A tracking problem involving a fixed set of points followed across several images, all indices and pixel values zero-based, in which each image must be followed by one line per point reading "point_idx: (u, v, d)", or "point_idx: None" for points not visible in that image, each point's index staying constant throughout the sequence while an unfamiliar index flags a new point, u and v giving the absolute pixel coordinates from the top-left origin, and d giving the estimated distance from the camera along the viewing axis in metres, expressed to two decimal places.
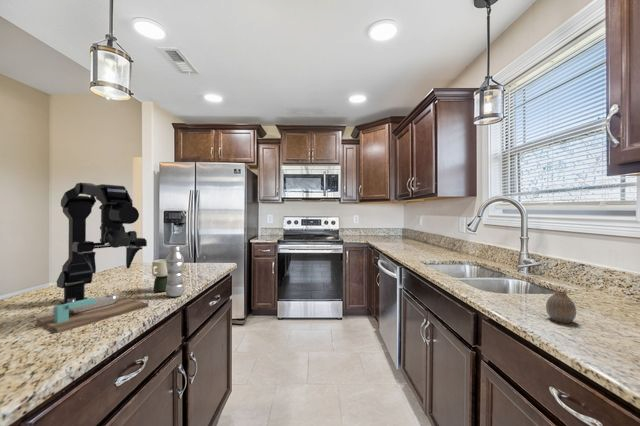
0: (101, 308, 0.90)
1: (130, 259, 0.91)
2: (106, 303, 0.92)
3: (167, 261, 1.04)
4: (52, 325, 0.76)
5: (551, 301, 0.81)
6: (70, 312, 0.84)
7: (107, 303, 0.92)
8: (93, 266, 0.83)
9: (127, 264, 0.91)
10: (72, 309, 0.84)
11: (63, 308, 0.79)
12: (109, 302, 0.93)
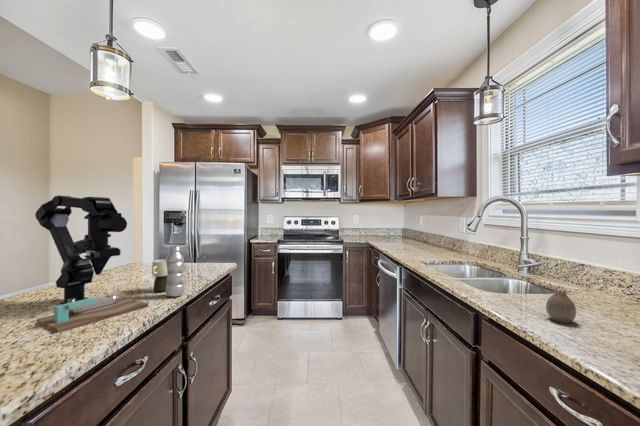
0: (101, 308, 0.90)
1: (95, 266, 0.95)
2: (106, 303, 0.92)
3: (167, 261, 1.04)
4: (52, 325, 0.76)
5: (551, 301, 0.81)
6: (70, 312, 0.84)
7: (107, 303, 0.92)
8: (93, 268, 0.96)
9: None
10: (72, 309, 0.84)
11: (63, 308, 0.79)
12: (109, 302, 0.93)
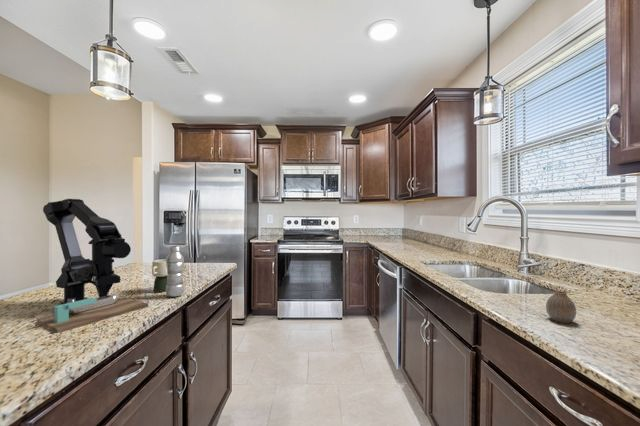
0: (101, 308, 0.90)
1: (98, 292, 0.94)
2: (106, 303, 0.92)
3: (167, 261, 1.04)
4: (52, 325, 0.76)
5: (551, 301, 0.81)
6: (70, 312, 0.84)
7: (107, 303, 0.92)
8: (98, 294, 0.95)
9: None
10: (72, 309, 0.84)
11: (63, 308, 0.79)
12: (109, 302, 0.93)
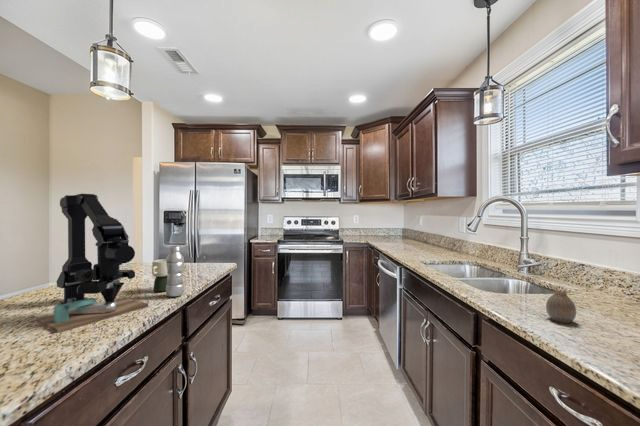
0: None
1: None
2: (98, 311, 0.85)
3: (167, 261, 1.04)
4: (52, 325, 0.76)
5: (551, 301, 0.81)
6: None
7: (99, 311, 0.85)
8: None
9: None
10: None
11: (63, 308, 0.79)
12: (101, 310, 0.85)
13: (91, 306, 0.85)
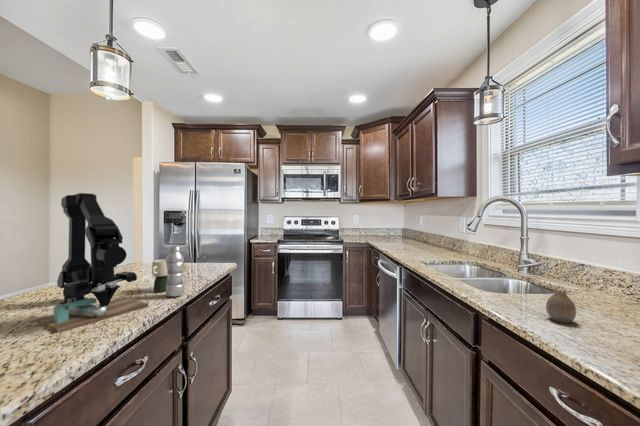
0: None
1: None
2: (87, 314, 0.82)
3: (167, 261, 1.04)
4: (52, 325, 0.76)
5: (551, 301, 0.81)
6: None
7: (88, 315, 0.82)
8: None
9: None
10: None
11: (63, 308, 0.79)
12: (90, 314, 0.82)
13: (82, 309, 0.82)
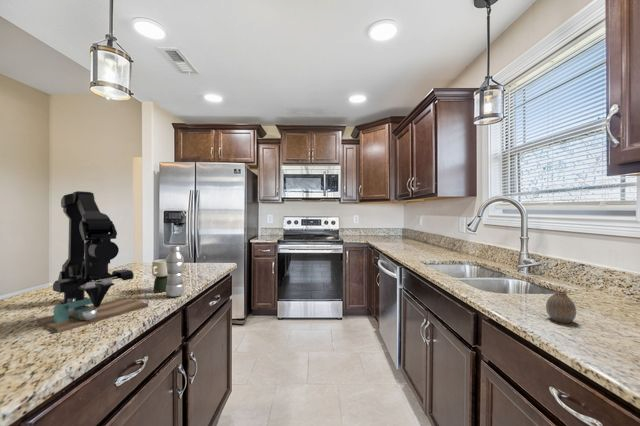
0: (101, 308, 0.90)
1: None
2: (78, 317, 0.80)
3: (167, 261, 1.04)
4: (52, 325, 0.76)
5: (551, 301, 0.81)
6: None
7: (79, 317, 0.80)
8: None
9: None
10: None
11: (63, 308, 0.79)
12: (80, 317, 0.80)
13: (75, 310, 0.81)
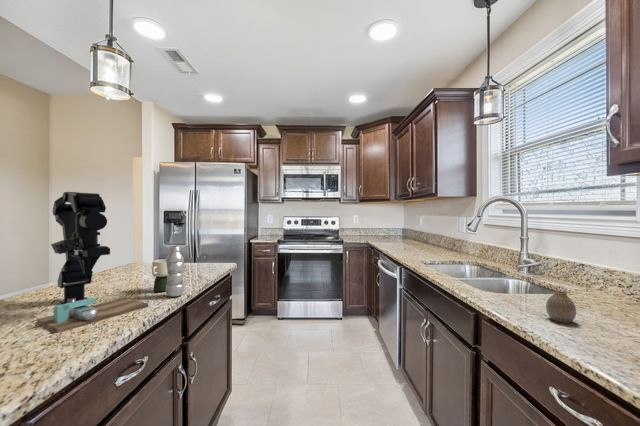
0: (101, 308, 0.90)
1: (83, 266, 0.90)
2: (78, 317, 0.80)
3: (167, 261, 1.04)
4: (52, 325, 0.76)
5: (551, 301, 0.81)
6: None
7: (79, 317, 0.80)
8: (82, 268, 0.91)
9: None
10: None
11: (63, 308, 0.79)
12: (80, 317, 0.80)
13: (75, 310, 0.81)
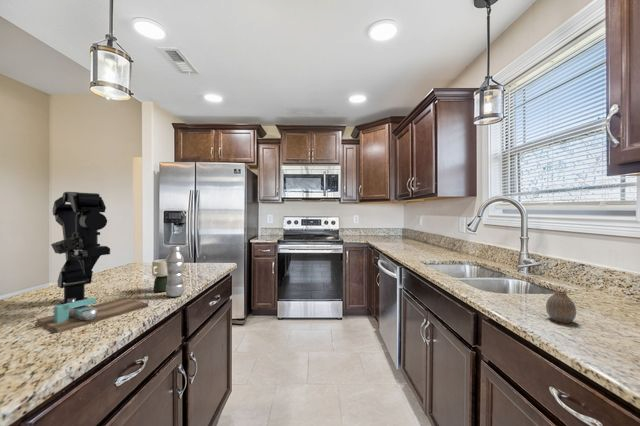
0: (101, 308, 0.90)
1: (83, 266, 0.90)
2: (78, 317, 0.80)
3: (167, 261, 1.04)
4: (52, 325, 0.76)
5: (551, 301, 0.81)
6: None
7: (79, 317, 0.80)
8: (82, 268, 0.91)
9: None
10: None
11: (63, 308, 0.79)
12: (80, 317, 0.80)
13: (75, 310, 0.81)
